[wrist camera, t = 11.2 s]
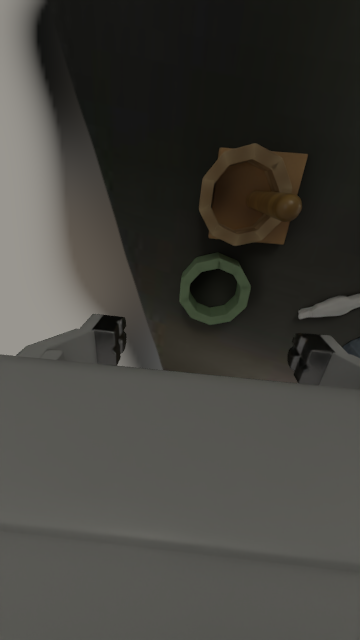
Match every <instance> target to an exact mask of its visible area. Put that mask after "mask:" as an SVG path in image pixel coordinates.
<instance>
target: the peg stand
mask: <svg viewBox="0 0 360 640" xmlns="http://www.w3.org/2000/svg"><path fill="white" fill-rule="evenodd" d="M231 149H234V148H221V147H220V148H219V152H218V158H219V157H220V156H221V155H222V153H223V152H225V151H228V150H231ZM271 152H273V153H275V154H277V155H278V156H280V157H282V158H283V161H284V164H285V167H286V170H287V173H288V176H289V179H290V182H291V185H292V191H291V193H280V192H271V188H270V185H269V183H268V180H267V177H266V175H265V172H264V171H263V170H261V169H259V168H257V167H255V166H253V165H252V164H250V163H248V162H245V163H241V164H237V165H234V166H230V167H228V168H227V169H226V170H225V172H224V173H223V174H222V175H221V176H220V178H219V179H218V180H217V181H216V182H215V185H214V193H213V201H212V211H213V213H214V215H215V217H216V219H217V221H218V223H220V224H223V225H225V226H227V227H229V228H231V229H233V230H236V229H240V228H245V227H250V226H252V225H253V224H254V223H255V222H256V221H257V220H258V219H259V218H260V217H261V216H262V215H263V214H265V215H268V216H270V217H272V218H275V219H277V220H279V221H281V222H280V223H279V224H278V225H277V226H276V227H275V228H274V229H273V230H272V231H271V232H270V233H269V234H268V235H267V236H266V237H265V238H264V239H263V240H261V241H257V242H259V243H271V244H282V245H283V244H284V242H285V238H286V234H287V231H288V227H289V223H290V221H292V220H294V219H295V218H296V217H297V216H298V215H299V214H300V212H301V209H302V202H301V199H300V198H299V197H298V196H297V194H298V190H299V186H300V183H301V179H302V175H303V172H304V168H305V164H306V161H307V157H308V154H300V153H287V152H274V151H271ZM208 237H209V238H212V239H219V238H216V237H214V236H212V235H211V233H210V231H209V234H208Z"/></svg>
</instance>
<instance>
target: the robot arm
mask: <svg viewBox="0 0 360 640" xmlns="http://www.w3.org/2000/svg"><path fill="white" fill-rule="evenodd" d="M125 327H126V320H125V318H124V317H118V316H109V315H100V314H93V315H92V316H91V317H90V318H89V319H88V320H87V321H86V322H85V323H84V324H83V326H82V327H81V328H80V329H74V330H71V331H69V332H66V333H63V334H60V335H57V336H54V337H52V338H49V339H46V340H43V341H40V342H37V343H34V344H32V345H28V346H26V347H25V348H24V349H23V350H22V351H21V352H19V353H18V354H17V355H16V356H9V355H0V640H360V358H358V357H356V356H354V355H351V354H348V353H347V352H346V351H345V350H344V349H343V348H342V347H341V346H340V345H339V344H338V343H337V342H336V341H335V340H334V339H333V338H332V337H331V336H329V335H317V334H303V333H296V334H295V335H294V337H293V340H292V342H293V344H294V346H293V347H291V348H290V349H289V352H288V365H289V367H290V368H291V369H292V370H294V371H295V372H294V376H295V378H296V380H297V382H298V383H288V382H278V381H268V380H257V379H247V378H237V377H226V376H216V375H206V374H196V373H185V372H175V371H165V370H154V369H144V368H134V367H124V366H117V364H118V362H119V360H120V354H121V353H123V351H124V349H125V345H126V333H125V332H124V328H125Z"/></svg>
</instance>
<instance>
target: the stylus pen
mask: <svg viewBox="0 0 360 640" xmlns="http://www.w3.org/2000/svg"><path fill="white" fill-rule="evenodd" d="M358 307H360V294H356V295H352V296H349V297H346V296H337V297H333V298H329V299H327V300H325V301H323V302H321V303H317V304H315V305H314V306H312V307H309V308H303V309H301V310H299V311H298V313H299V314H298V318H299V319H304V318H307V317H313V318H314V317H323V316H340V315H343V314H346V313H348V312H349V311H350V310H352V309H355V308H358Z"/></svg>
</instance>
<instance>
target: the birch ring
mask: <svg viewBox="0 0 360 640" xmlns="http://www.w3.org/2000/svg"><path fill="white" fill-rule="evenodd" d="M245 162H248V163H250V164H252V165H253V166H255V167H257V168H259V169H261V170H263V171H264V172H265V175H266V177H267V180H268V183H269V185H270V188H271V192H280V193H291V191H292V185H291V182H290V179H289V176H288V173H287V170H286V167H285V164H284V161H283V158H282V157H280V156H278V155H277V154H275V153H273V152H271V151H269V150H267V149H266V148H264V147H262V146H260V145H258V144H257V143H253V144H250V145H246V146H242V147H239V148H235V149H231V150H228V151H225V152H223V153H222V155H221V156H220V157H219V158H218V160H217V161H216V162H215V163H214V165H213V166H212V167H211V168H210V170H209V171H208V172H207V173H206V175H205V176H204V177H203V179H202V185H201V193H200V201H199V212H200V214H201V216H202V218H203V220H204V221H205V223H206V225H207V227H208V229H209V231H210V233H211V235H212V236H214V237H216V238H219V239H221V240H223V241H225V242H227V243H229V244H231V245H233V246H238V245H243V244H248V243H253V242H257V241H261V240H263V239H264V238H265V237H266V236H267V235H268V234H269V233H270V232H271V231H272V230H273V229H274V228H275V227H276V226H277V225H278V224H279V223H280V222H281V221H279V220H277V219H275V218H272V217H270V216H268V215H265V214H263V215H262V216H261V217H260V218H259V219H258V220H257V221H256V222H255V223H254V224H253V225H252V226H250V227H245V228H240V229H236V230H233V229H231V228H229V227H227V226H225V225H223V224H220V223H218V221H217V219H216V217H215V215H214V213H213V211H212V209H211V202H212V195H213V188H214V184H215V182H216V181H217V180H218V179H219V178H220V176H221V175H222V174H223V173H224V172H225V170H226V169H227V168H228V167H230V166H234V165H237V164H241V163H245Z"/></svg>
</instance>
